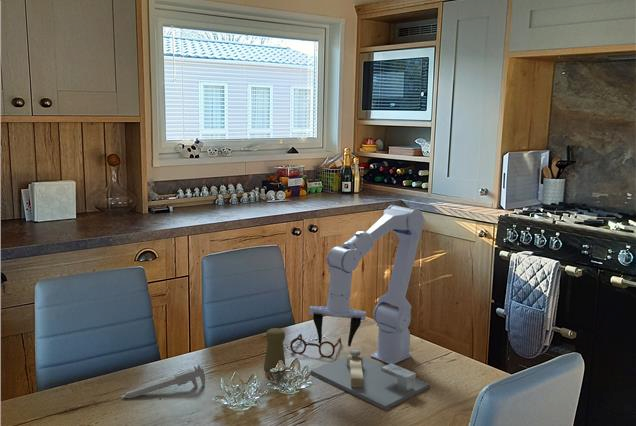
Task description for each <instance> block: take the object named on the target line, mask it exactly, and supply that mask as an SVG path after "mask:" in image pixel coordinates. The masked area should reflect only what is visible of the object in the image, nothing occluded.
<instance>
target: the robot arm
mask: <svg viewBox="0 0 636 426" xmlns="http://www.w3.org/2000/svg"><path fill="white" fill-rule="evenodd" d="M425 221H426V220H425V217H424V215H423V213H422V211H421V210H420V209H418V208H417V209H416V208H408V207H404V206H399V205H396V204H391V205H389V206H388V207H387V208H385V209H384V210H383V212H382V216H381V217H380V218H379V219H378V220H377V221H375V223H373V225H371V227H369V229H367V230H366V231H363V230H361V231H359V230H358V231H356V232H355V233H354V235H353V236H352V237H351V238H350V239H348V240H346V241H345V242H344V243H343V244H341V246H339V245H337V246H334V247H333V248H331V249H330V251H329V252H328V254H327V256H326V257H325V259H326V265H328V273H329V283H328V293H327V303H326V304H327V305H326V306H325V305H324V306H314V305H310V306H309V312H308V313H309V316H312V317H313V318H312V319H313V322H314V325H315V329H316V332H317V337H318V338H317V339H318V344H321V343H322V342H323V340H322V338H323V322H324V320H323V319H324V317H333V318H334V317H335V318H343V319H344V318H345V319H350V322H349V324H350V325H349V333H348V341H347V347H351V345H352V341H353V339H354V337H355V334H356V333H357V330H358V329H359V327H360V326H361V322H362V321H366V315H367V314H366V313H367V312H366V311H365V310H358V309H354V308H350V301H351V291H352V283H353V282H352V281H353V280H352V279H353V272H354V271H355V270H356V269H357V268H358V266H359V263H360V262H361V261H362V258H363V257H364V256H366V255H367V254H368V253H369V252H370V251H371V250H373V249H374V247H375V242H376V241H377V240H379V239H380V238H383V236H385V235H386V234H388V233H390V232H391V231H392V232H393V233H394V234H396V236H397V238H398V240H399V241H398V246H397V250H396V253H395V259H394V262H393V267H392V271H391V275H390V279H389V283H388V288H387V291H386V293H385V294H383V295H381V296H379V298H378V301H377V304H376V306H375V307H374V308H373V313H372V317H373V320H374V322H375V323H376V327H378V332H377V333H378V336H377V339H378V340H377V350H376V351H375V352H373V353H372V354H370V357H371V358H374V359H376V360H379V361H381V362H383V363H386V364H387V365H388V364H391V363H392V364H394V365H396V364H397V363H399V362H401V361H403V360H407V359H408V358H410V357H412V356H413V355H412V354H411V353H410V349H411V348H410V346H411V333H410V330H409V328H408V327H409V326H410V324H411V320H412V315H411V313H412V305H411V303H410V302H409V301H408V299H407V298H406V296H407V291H408V288H409V283H410V279H411V275H412V270H413V266H414V263H415V258H416V254H417V250H418V246H419V242H420V239H421V236H422V232H423V227H424V224H425Z"/></svg>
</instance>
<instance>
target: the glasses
mask: <svg viewBox="0 0 636 426" xmlns="http://www.w3.org/2000/svg"><path fill="white" fill-rule="evenodd" d="M297 341H301V342H302V343H303V346H304V347H303V350H302V351H296V350H294V347H293V344H294V343H296V342H297ZM341 343H342V338H341V337H338V339H337V341H336V343H335V344H334V343H333V342H331V341H327V340H326V341H325V340H324V341H321V344H320V343H313V342H308V343H307V342H306V340H304V339H303V334H302V333H300V334H298V335H297V337H296V338H293V339H292V340H291V342H290V350H291V352H292V353H293V354H295V355H303V354H304V353H305V351H306V349H307V346H313V347H318V353H319V355H320V356H321V357H323V358H328V359H330V358H331V357H333V356H334V354H335V352H336V348H337V346H338V345H339V344H341ZM325 344H328V345H329V346H331V349H332V352H331V354H330V355H325V354H323V353H322V349H321V348H322V346H323V345H325Z"/></svg>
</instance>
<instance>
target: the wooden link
mask: <svg viewBox="0 0 636 426" xmlns="http://www.w3.org/2000/svg"><path fill="white" fill-rule="evenodd" d="M362 356H363V355H362ZM362 356H361V351H360V350H358V349H351V350H350V351H349V354H348V355H347V367H349V369H350V380H351V387H363V372H362V367H363V357H362Z"/></svg>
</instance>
